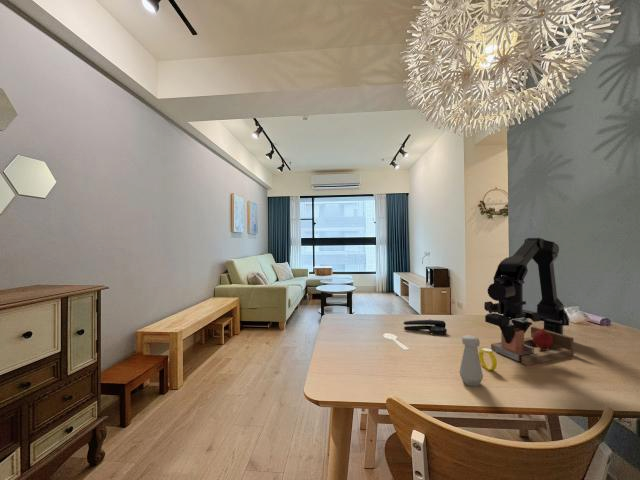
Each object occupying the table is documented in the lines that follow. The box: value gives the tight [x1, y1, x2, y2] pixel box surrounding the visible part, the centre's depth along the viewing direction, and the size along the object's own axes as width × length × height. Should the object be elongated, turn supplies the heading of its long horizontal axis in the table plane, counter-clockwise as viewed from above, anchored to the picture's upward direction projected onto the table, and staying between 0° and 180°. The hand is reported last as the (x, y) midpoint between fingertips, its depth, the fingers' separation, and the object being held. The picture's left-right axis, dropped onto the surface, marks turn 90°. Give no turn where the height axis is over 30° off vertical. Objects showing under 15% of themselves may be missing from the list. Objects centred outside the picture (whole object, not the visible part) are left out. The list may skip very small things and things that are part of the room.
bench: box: [490, 326, 575, 366], centre depth 97 cm, size 22×13×6 cm, turn 108°
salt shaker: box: [458, 334, 484, 388], centre depth 77 cm, size 6×6×13 cm
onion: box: [533, 327, 553, 351], centre depth 99 cm, size 6×6×8 cm
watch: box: [478, 347, 498, 372], centre depth 85 cm, size 6×3×6 cm, turn 9°
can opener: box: [403, 318, 448, 336], centre depth 120 cm, size 18×7×6 cm, turn 68°
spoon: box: [383, 332, 410, 351], centre depth 109 cm, size 5×18×1 cm, turn 11°
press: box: [494, 328, 535, 362], centre depth 94 cm, size 7×8×9 cm
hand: (512, 342), depth 94 cm, fingers closed on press, 4 cm apart
